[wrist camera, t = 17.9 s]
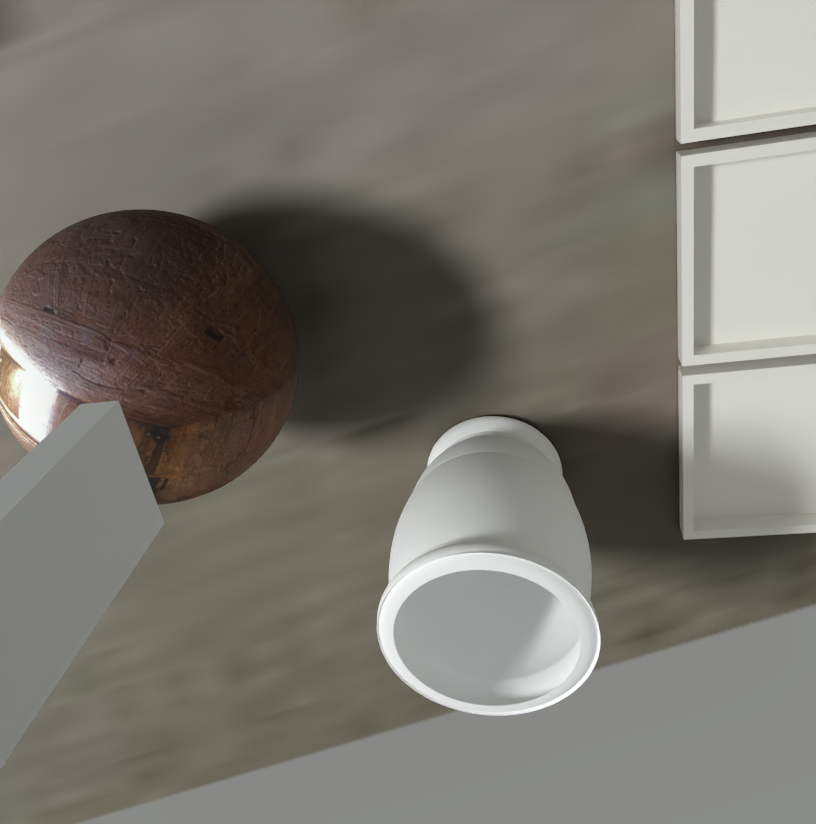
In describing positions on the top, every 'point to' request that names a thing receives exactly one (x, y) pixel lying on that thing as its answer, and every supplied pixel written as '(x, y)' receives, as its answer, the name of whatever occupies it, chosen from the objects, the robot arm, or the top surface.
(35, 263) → the wooden sphere
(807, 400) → the tray
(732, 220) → the tray middle
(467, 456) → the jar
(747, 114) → the tray
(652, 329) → the top surface
